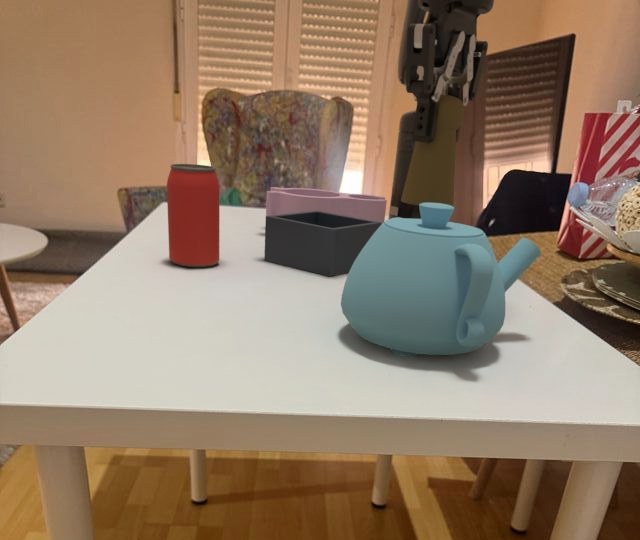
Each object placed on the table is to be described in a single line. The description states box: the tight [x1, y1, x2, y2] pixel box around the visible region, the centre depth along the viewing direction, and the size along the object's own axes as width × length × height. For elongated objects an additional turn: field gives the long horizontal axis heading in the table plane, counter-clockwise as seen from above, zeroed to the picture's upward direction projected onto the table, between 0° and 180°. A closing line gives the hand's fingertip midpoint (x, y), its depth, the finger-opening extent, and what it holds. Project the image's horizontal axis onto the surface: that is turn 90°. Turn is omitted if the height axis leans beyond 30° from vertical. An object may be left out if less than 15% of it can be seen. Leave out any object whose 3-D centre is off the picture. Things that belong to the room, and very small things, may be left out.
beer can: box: [166, 163, 220, 268], centre depth 81 cm, size 7×7×12 cm
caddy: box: [263, 211, 382, 277], centre depth 88 cm, size 12×12×6 cm
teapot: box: [340, 203, 542, 357], centre depth 59 cm, size 20×20×13 cm
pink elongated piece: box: [265, 186, 388, 223], centre depth 108 cm, size 20×12×7 cm, turn 88°
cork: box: [401, 95, 465, 207], centre depth 69 cm, size 6×6×11 cm
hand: (435, 141), depth 69 cm, fingers closed on cork, 5 cm apart
